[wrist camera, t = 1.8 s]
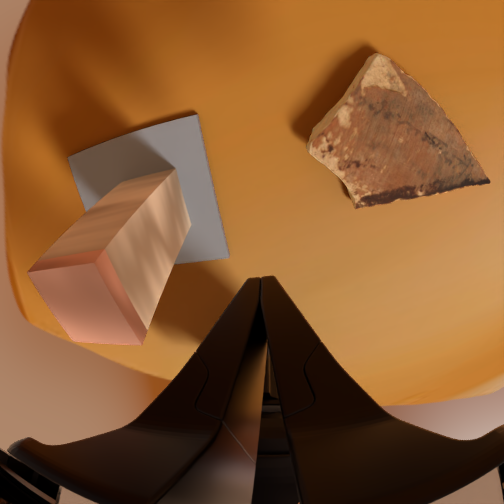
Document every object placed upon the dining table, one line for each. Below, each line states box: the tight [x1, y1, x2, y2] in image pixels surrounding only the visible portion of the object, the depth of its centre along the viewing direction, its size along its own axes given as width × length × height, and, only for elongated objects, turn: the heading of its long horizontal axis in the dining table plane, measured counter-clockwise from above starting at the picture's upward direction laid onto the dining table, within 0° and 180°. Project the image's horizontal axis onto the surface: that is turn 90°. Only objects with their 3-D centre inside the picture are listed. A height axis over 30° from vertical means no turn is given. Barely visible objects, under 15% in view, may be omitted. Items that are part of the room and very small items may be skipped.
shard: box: [306, 53, 490, 209], centre depth 15 cm, size 13×9×2 cm
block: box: [27, 168, 191, 345], centre depth 13 cm, size 4×4×10 cm
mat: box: [67, 114, 230, 264], centre depth 17 cm, size 10×10×1 cm
